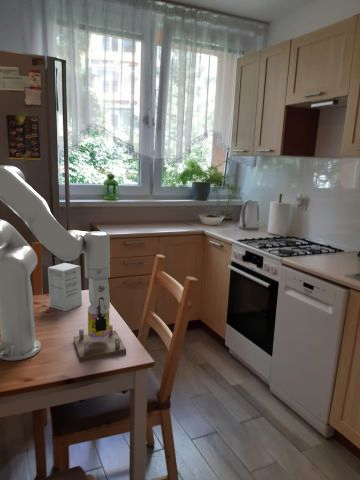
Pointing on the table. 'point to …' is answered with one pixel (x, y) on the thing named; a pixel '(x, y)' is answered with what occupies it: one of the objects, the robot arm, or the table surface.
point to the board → (98, 346)
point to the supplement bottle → (92, 328)
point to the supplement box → (65, 286)
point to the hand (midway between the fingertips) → (98, 325)
